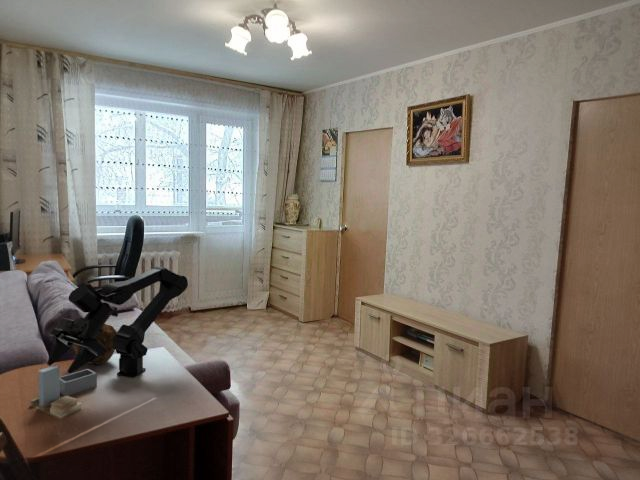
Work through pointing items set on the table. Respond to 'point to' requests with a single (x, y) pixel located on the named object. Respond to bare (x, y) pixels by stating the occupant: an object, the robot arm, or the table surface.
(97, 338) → the rock
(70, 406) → the rack
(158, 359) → the table surface
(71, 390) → the holder
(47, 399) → the panel
